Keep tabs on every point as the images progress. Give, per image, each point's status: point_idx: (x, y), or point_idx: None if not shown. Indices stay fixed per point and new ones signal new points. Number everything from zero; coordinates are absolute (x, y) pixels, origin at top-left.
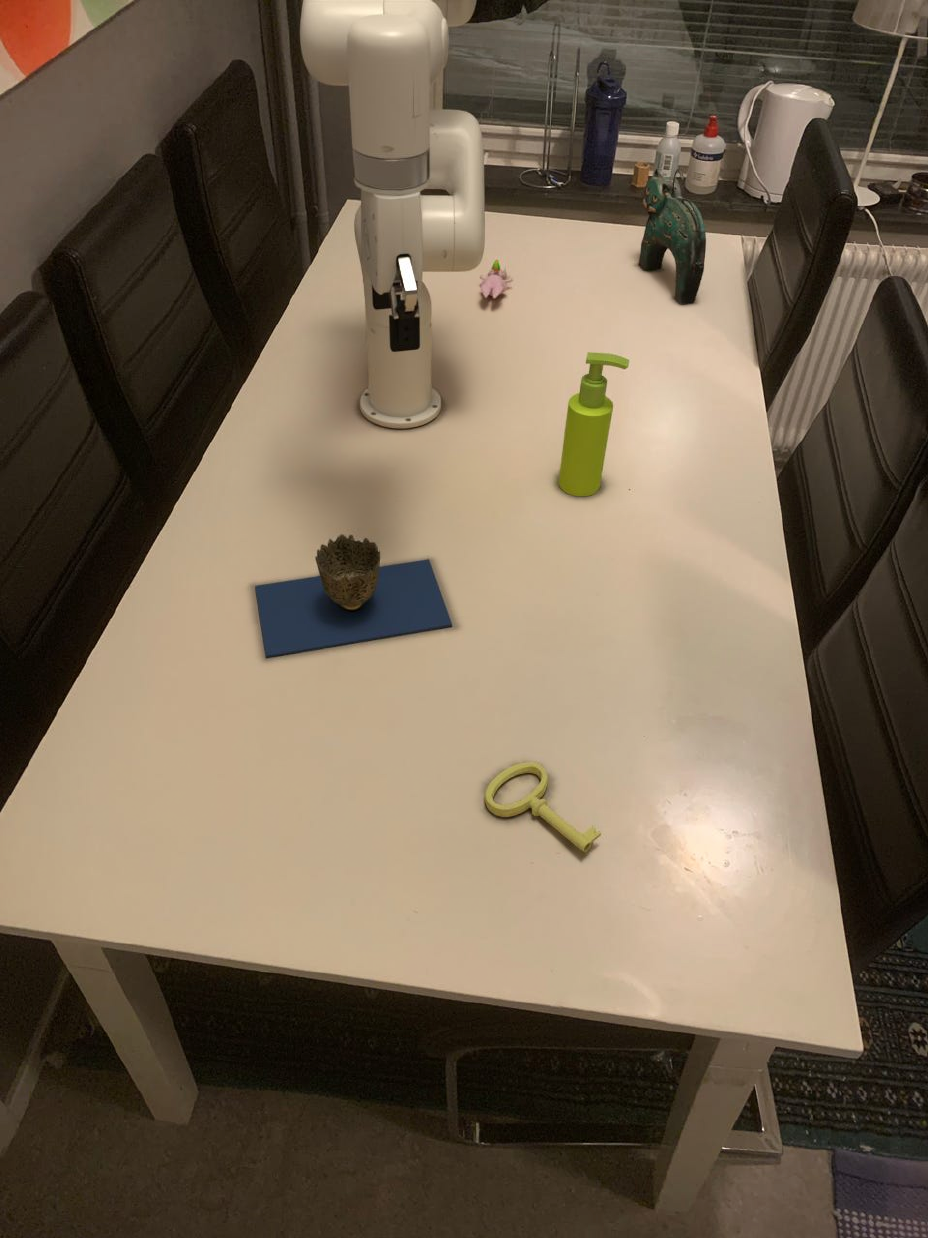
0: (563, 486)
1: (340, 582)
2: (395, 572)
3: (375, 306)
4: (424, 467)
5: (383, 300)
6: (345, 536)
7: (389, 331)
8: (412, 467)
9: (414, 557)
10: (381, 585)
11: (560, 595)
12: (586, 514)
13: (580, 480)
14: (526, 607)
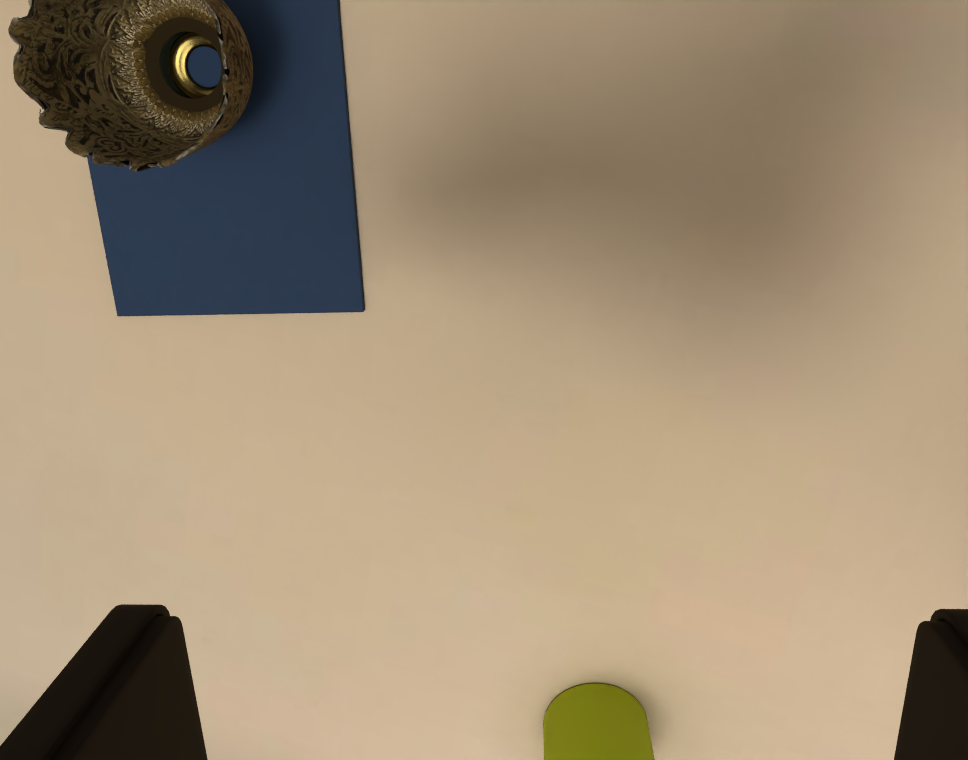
0: (578, 694)
1: (29, 16)
2: (321, 212)
3: (934, 635)
4: (782, 384)
5: (945, 745)
6: (225, 64)
7: (66, 719)
8: (793, 350)
9: (387, 275)
10: (274, 164)
11: (209, 570)
12: (477, 703)
13: (547, 745)
14: (176, 492)
